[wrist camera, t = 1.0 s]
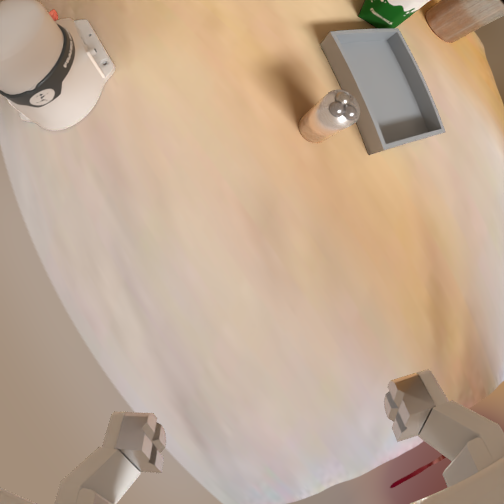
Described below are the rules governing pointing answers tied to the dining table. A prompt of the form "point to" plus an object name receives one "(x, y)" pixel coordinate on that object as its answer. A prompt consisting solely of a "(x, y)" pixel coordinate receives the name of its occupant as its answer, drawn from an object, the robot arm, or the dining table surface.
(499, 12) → the planter
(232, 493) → the dining table surface
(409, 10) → the milk carton
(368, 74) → the bin
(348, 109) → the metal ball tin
